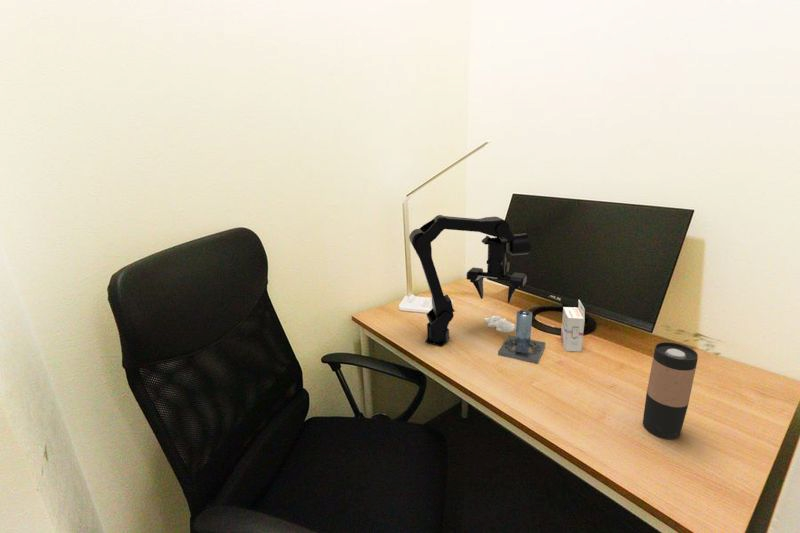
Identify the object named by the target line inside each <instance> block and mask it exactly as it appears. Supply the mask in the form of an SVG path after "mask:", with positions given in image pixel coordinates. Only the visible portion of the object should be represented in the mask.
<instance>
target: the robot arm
mask: <svg viewBox="0 0 800 533" xmlns="http://www.w3.org/2000/svg"><path fill="white" fill-rule="evenodd" d="M444 230H449V231H450V230H452V231H462V232H464V231H465V232H474V233H475V232H476V233H481V234H485V235H486V236H485V237H484V238H483V239H482V240H481V243H482V244H484V245H485V246H487V260H486V264H487V266H486V267H487V269H486V270H487V271H484V269H483V267H482V268H480V267H472V268H470V269H469V270H468V271H467V272H466V280H469V282H470V283H473V285H474V286H473V287H475V289H476V291H477V293H478V296H479V298H480V299H481V300H482V299H484V279H491V280H492V279H493V280H498V281H505V282H509V283H510V284H509V286H508V290H507V291H508V292H507V304H510V303H511V300H512V298H513V296H514V293H515V291H516V290H517V289H520V288H521V287H522V288H523V287H524V286H525V285H526V283H527V278H528V276H527V274H526V273H523V272H516V271H515V272H513V273H512V275H511V274H507V273H508V272H509V271H510V265H511V263H510V261H507V255H506V254H507V253H508V254H509V255H510V256H519V255H520V256H521V255H528V254H529V255H530V253H531V249H532V245H531V241H530V239H529V234H528V233H525V232H523V233H517V234H516V233H515V234H513V232H512V231H511V230H510V224H509V223H508V221H507V220H505V219H503V218H501V217H499V216H486V217H481V218H472V217H471V218H470V217H458V216H449V215H448V216H447V215H442V214H438V215H436V216H434V217H433V219H431V220H429V221H428V222H426V223H425V224H423V225H422V226H420V227H419V228H416V229H414V230H412V231H411V232H410V234H409V238H408V239H409V242H410V244H411V245H412V248H413V249H414V251H415V253H416V255H417V257H418V258H419V260H420V263H421V267H422V269H423V270H422V271H423V273H424V276H425V279H426V282H427V285H428V289H429V292H430V294H431V305H432V306H431V307H432V308H431V309H430V310H429V311H428V312H427V313H426V318H427V320H428V323H426V333H427V334H426V336H427V337H426V340H425V343H427V344H430V345H434V346H439V347H444V345H445V344H447V342H448V341H449V340H450V329H449V328H448V327H449V325H450V322H451V321H452V320H453V318H454V315H455V314H454V313H455V312H456V310H455V309H454V307H453V301H452V299H451V298H450V297H449V295H448V294H444V292H443V289H442V285H441V283H440V279H439V276H438V272H437V270H436V266H435V264H434V263H435V262H434V261H433V260H434V259H433V256H432V255H433V254H432V252H433V251H432V250H433V249H432V242H433V241H435V239H437V238H438V236H439V235H440V234H441V233H442V232H443V231H444ZM502 238H503V239H502Z"/></svg>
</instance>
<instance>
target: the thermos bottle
mask: <svg viewBox="0 0 800 533" xmlns="http://www.w3.org/2000/svg"><path fill="white" fill-rule="evenodd" d="M515 318H516V319H515V320H516V321H515V333H514V334H515V335H514V336H515V346H514V349H513V350H515V351H517V352H522V353H528V352H531V351H530V349H531V347H530V339H531V338H532V336H531V335H532V324H533V323H532V322H533V312H532V311H530V310H528V309H525V308H524V309H519V310H517V311H516V317H515Z"/></svg>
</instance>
